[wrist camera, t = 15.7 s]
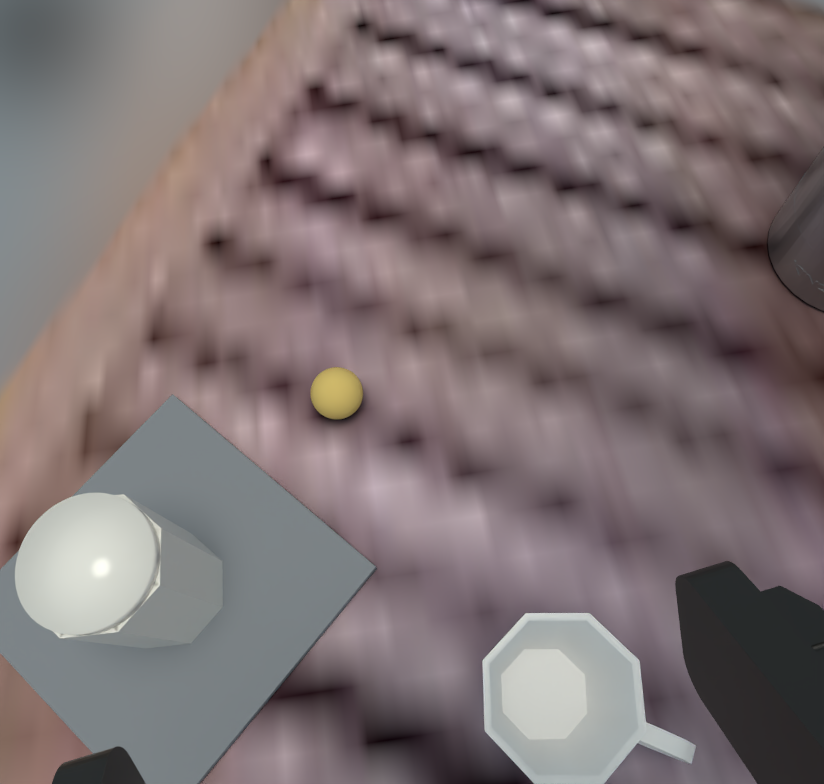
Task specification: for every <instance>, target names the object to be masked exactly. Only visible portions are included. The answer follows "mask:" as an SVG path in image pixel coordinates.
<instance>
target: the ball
mask: <svg viewBox="0 0 824 784" xmlns="http://www.w3.org/2000/svg"><path fill="white" fill-rule="evenodd" d="M362 398H363V389H362V385H361V383H360V380H359V379H358V377H357V376H356V375H355V374H354V373H352V372H351V371H349V370H347V369H344V368H340V367H334V368H329V369H326V370H324V371H323V372H321V373H320V374H319V375H318V376H317V377H316V378H315V380H314V382H313V384H312V387H311V400H312V403H313V405H314V407H315V408H316V410H317V411H318V412H319V413H320V414H322V415H323V416H325V417H327V418H330V419H343V418H346V417H349V416H350V415H352V414H353V413H354V412H355V411H356V410H357V409H358V408H359V406H360V404H361V402H362Z"/></svg>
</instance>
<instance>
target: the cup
mask: <svg viewBox="0 0 824 784" xmlns="http://www.w3.org/2000/svg"><path fill="white" fill-rule="evenodd" d="M482 662H483V695H484V727H485V732H486V733H487V734H488V735H489V736H490V737H491V738H492V739H493V740H494V741H495V742H496V744H497V745H498V746H499V747H500V748H501V749H502V750H503V751H504V752H505V753H506V754H507V755H508V756H509V757H510V758H511V759H512V761H513V762H514V763H515V764H516V765H517V766H518V767H519V768H520V769H521V770H522V771H523V772H524V773H525V774H526V775H527V777H528V778H529V779H530V780H531V781H532V782H533V783H534V784H604V783H605V782H606V781H607V779H608V778H609V777H610V776H611V775H612V773H613V772H614V771H615V770H616V769H617V767H618V766H619V765H620V764H621V762H622V761H623V760H624V759H625V758H626V756H627V755H628V754H629V753H630V752H631V750H632V749H633V748H634V747H635V745H636V744H637V743H638V744H641V745H643V746H645V747H648V748H650V749H653V750H655V751H657V752H660V753H662V754H665V755H667V756H670V757H672V758H675V759H677V760H680V761H682V762H685V763H688V764H692V760H693V756H694V752H695V748H696V745H694V744H693V743H691V742H689V741H687V740H685V739H683V738H681V737H679V736H676V735H674V734H672V733H670V732H667V731H665V730H663V729H661V728H658V727H656V726H654V725H651V724H649V723H647V722H646V719H645V709H644V700H643V690H642V680H641V670H640V661H639V660H638V659H637V658H636V657H635V656H634V655H633V654H632V653H631V652H630V651H629V650H628V649H627V648H626V647H625V646H624V645H623V644H621V643H620V642H619V641H618V640H617V639H616V638H615V637H614V636H613V635H612V634H611V633H610V632H609V631H608V630H607V629H606V628H605V627H604V626H602V625H601V624H600V623H599V622H598V621H597V620H596V619H595V618H594V617H593V616H592V615H591V614H590V613H525V614H524V616H523V617H522V618H521V619H520V620H519V621H518V622H517V623H516V624H515V625H514V626H513V628H512V629H511V630H510V631H509V632H508V633H507V634H506V635H505V636H504V637H503V639H502V640H501V641H500V642H499V643H498V644H497V645H496V646H495V647H494V648H493V649H492V651H491V652H490V653H489V654H488V655H487V656H486V657H485V658H484V659H483V660H482Z"/></svg>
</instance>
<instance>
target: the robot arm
mask: <svg viewBox="0 0 824 784" xmlns="http://www.w3.org/2000/svg"><path fill="white" fill-rule="evenodd" d="M768 250H769V256H770V259H771V262H772V264H773V267H774V270H775V271H776V273H777V274H778V276H779V277H780V279H781V280H782V282H783V283H784V284H785V285H786V286H787V287H788V288H789V289H790V290H791V291H792V292H793V293H794V294H795V295H796V296H798V297H799V298H801V299H802V300H803V301H805V302H806V303H808V304H810V305H812V306H814V307H816V308H818V309H820V310H822V311H824V147H823V149H822V150H821V152H820V153H819V154H818V156H817V157H816V159H815V160H814V162H813V163H812V165H811V166H810V167H809V169H808V170H807V172H806V173H805V174H804V176H803V177H802V179H801V180H800V182H799V183H798V184H797V186H796V187H795V189H794V190H793V192H792V193H791V195H790V196H789V197H788V199H787V200H786V202H785V203H784V205H783V206H782V208H781V209H780V210H779V212H778V213H777V215H776V216H775V218H774V220H773V222H772V225H771V227H770V229H769V236H768ZM675 585H676V595H677V604H678V613H679V621H680V630H681V639H682V647H683V655H684V660H685V664H686V667H687V670H688V673H689V676H690V678H691V680H692V683H693V685H694V687H695V689H696V691H697V693H698V695H699V697H700V698H701V700H702V701H703V703H704V704H705V706H706V707H707V709H708V710H709V712H710V713H711V715H712V716H713V718H714V719H715V721H716V722H717V724H718V725H719V727H720V728H721V730H722V731H723V733H724V734H725V736H726V737H727V739H728V740H729V742H730V743H731V745H732V746H733V748H734V749H735V751H736V752H737V754H738V755H739V757H740V758H741V760H742V761H743V763H744V764H745V766H746V767H747V769H748V770H749V772H750V773H751V775H752V776H753V778H754V779H755V781H756V782H757V784H824V610H823V609H822V608H821V607H820V606H819V605H817V604H815V603H813V602H811V601H809V600H807V599H805V598H803V597H801V596H799V595H797V594H795V593H793V592H791V591H790V590H788V589H786V588H784V587H782V586H778V587H774V588H771V589H768V590H765V591H762V592H760V591H759V589H758V588H757V587H756V586H755V585H754V584H753V583H752V582H751V581H750V580H749V579H748V578H747V576H746V575H745V574H744V573H743V572H742V571H741V570H740V569H739V568H738V567H737V566H736V565H735V564H733V563H732V562H730V561H725V562H722V563H719V564H716V565H712V566H709V567H706V568H703V569H699V570H696V571H693V572H690V573H686V574H683V575H680V576H678V577H677V578H676V584H675ZM52 784H146V783H145V781H144V780H143V778H142V776H141V774H140V773H139V771H138V769H137V768H136V766H135V764H134V762H133V761H132V759H131V757H130V755H129V754H128V752H127V751H126V750H125V749H124V748H122V747H120V746H117V747H114V748H110V749H107V750H104V751H101V752H97V753H94V754H91V755H87V756H84V757H81V758H78V759H74V760H71V761H68V762H65V763H63V764H62V765H61V766H60V767H59V768H58V770H57V772H56V774H55V776H54V779H53V782H52Z"/></svg>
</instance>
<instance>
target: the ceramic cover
mask: <svg viewBox="0 0 824 784" xmlns="http://www.w3.org/2000/svg"><path fill="white" fill-rule="evenodd" d="M15 585H16V590H17V594H18V597H19V600H20V602H21V604H22V606H23V608H24V609H25V611H26V612H27V613H28V615H29V616H30V617H31V618H32V619H33V620H34V621H35V622H37V623H38V624H39V625H41V626H43V627H44V628H46V629H48V630H51V631H53V632H54V633H55V634H56V635H57V636H58V637H59V638H60V639H69V640H77V641H86V642H94V643H103V644H111V645H120V646H128V647H137V648H145V649H146V648H155V647H164V646H173V645H183V644H191V643H192V642H193V641H194V639H195V638H196V637H197V636H198V635H199V634H200V632H201V631H202V630H203V629H204V628H205V627H206V626H207V624H208V623H209V622H210V621H211V620H212V619H213V617H214V616H215V615H216V614H217V613H218V612H219V610H220V609H221V608H222V607H223V569H222V560H220V559H219V558H218V557H217V556H216V555H215V554H214V553H213V552H212V551H210V550H209V549H208V548H207V547H206V546H205V545H204V544H203V543H202V542H200V541H199V540H198V539H197V538H196V537H195V536H194V535H193V534H191V533H190V532H188V531H186V530H185V529H183V528H181V527H179V526H178V525H176V524H174V523H172V522H171V521H169V520H167V519H166V518H164V517H162V516H160V515H159V514H157V513H155V512H154V511H152V510H150V509H148V508H147V507H145V506H143V505H141V504H140V503H138V502H136V501H135V500H133V499H131V498H129V497H128V496H126V495H124V494H122V495H111V494H107V493H85V494H80V495H76V496H73V497H70V498H68V499H65V500H63V501H61V502H60V503H58V504H56V505H54V506H53V507H52V508H50V509H49V510H48V511H46V512H45V513H44V514H43V515H42V516H41V517H40V518H39V519H38V520H37V521H36V522H35V523H34V525H33V526H32V527H31V529H30V530H29V532H28V533H27V535H26V537H25V538H24V540H23V542H22V545H21V547H20V550H19V553H18V556H17V560H16V566H15Z"/></svg>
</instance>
